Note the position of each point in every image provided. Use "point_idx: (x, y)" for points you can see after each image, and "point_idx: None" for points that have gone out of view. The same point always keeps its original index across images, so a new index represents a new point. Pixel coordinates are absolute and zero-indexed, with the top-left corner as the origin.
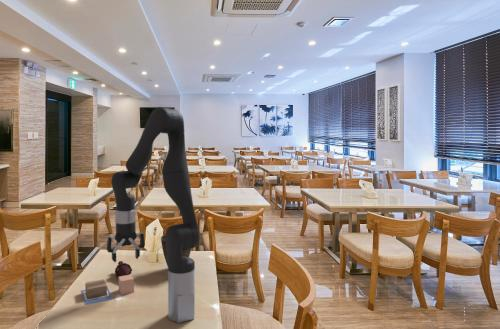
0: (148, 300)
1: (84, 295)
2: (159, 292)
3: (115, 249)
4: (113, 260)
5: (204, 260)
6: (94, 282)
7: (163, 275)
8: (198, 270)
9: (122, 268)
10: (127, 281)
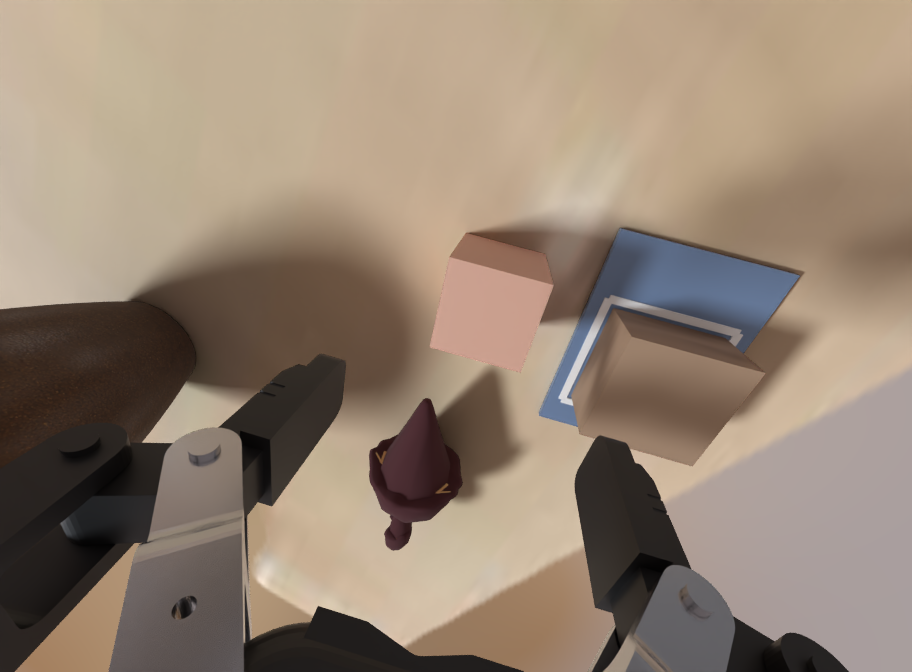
0: (444, 29)
1: None
2: (328, 113)
3: (693, 654)
4: (637, 467)
5: None
6: (654, 432)
7: (238, 329)
8: (40, 251)
9: (423, 474)
10: (501, 267)
